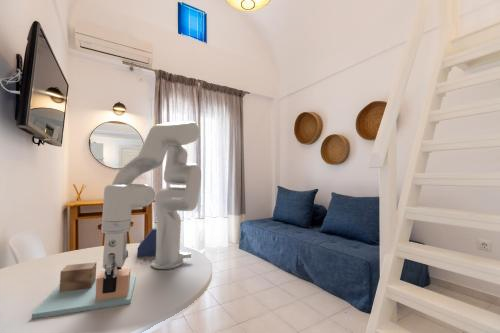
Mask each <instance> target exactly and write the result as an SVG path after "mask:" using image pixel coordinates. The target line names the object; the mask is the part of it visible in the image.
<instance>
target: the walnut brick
mask: <svg viewBox="0 0 500 333" xmlns="http://www.w3.org/2000/svg"><path fill="white" fill-rule="evenodd" d="M96 279H97V262H86V263H85V262H84V263H75V264H74V263H73V264H67V265H65V267H63V269H62V270H60V279H59V284H60V290H59V292H65V291H73V290H80V289H88V288H92V286H93V284H94V282H95V281H96Z"/></svg>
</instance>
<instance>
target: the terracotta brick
mask: <svg viewBox="0 0 500 333" xmlns="http://www.w3.org/2000/svg"><path fill="white" fill-rule="evenodd" d="M113 271H114V270H113ZM104 273H105V270H101V271H100V272H99V274H98V275H97V276H96V297H95V301H97V300H104V299H111V298H118V297H124V296H128V292H129V288H130V275H131V268H130V267H129V268H122V269H118V270H117V271H116V276H117V283H116V291H115V292H112V293H105V294H103V293H102V290H103V278H104Z"/></svg>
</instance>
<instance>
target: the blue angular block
mask: <svg viewBox="0 0 500 333" xmlns="http://www.w3.org/2000/svg"><path fill="white" fill-rule="evenodd" d="M156 233H157V227H153V228H152V229H151V230H150V231H149V233H148V234H147V235H146V236H145V237H144V238H143V239H142V240H141V241H140V243H139V245H138V247H137V254H136V256H137V257H136V258H145V257H156Z"/></svg>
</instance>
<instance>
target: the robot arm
mask: <svg viewBox="0 0 500 333" xmlns="http://www.w3.org/2000/svg"><path fill="white" fill-rule="evenodd" d="M200 133H201V129H200V127H199V124H198V123H196V122H195V121H170V122H166V123H160V124H159V123H158V124H155V125H153V126H152V127H150V129H149V131H148V134H147V136H146V138H145V140H144V143H143V145H142V147H141V149H140V152H139V154H138V155H136V156H135V157H134V158H133V159H131V160H130V161H128V162H127V163H126V164H125V165H124V166H123V167H122V168H121V169H120V170H119V171H118V172H117V173H116V175H115V177H114V179H113V181H112V183H111V184H107V185H106V186H105V187H104V192H103V203H102V214H101V215H102V217H101V229H100V230H101V231H100V232H101V234H102V233H103V234H105V235H104V245H103V256H102V269H104V271H105V273H104V278H103V290H102V293H103V294H105V293H112V292H115V291H116V283H117V276H116V271H117V270H118V269H123V266H124V265H125V262H126V260H127V257H126V249H127V241H128V240H127V239H128V237H127V232H130V231H131V219H132V208H145V207H148V206H149V205H151V204H152V203H153V202H154V201H155V208H156V228H157V233H156V256H154V257H155V258H154V259H153V260H152V261H151V262H150V267H152V268H153V269H157V270H168V269H169V270H170V269H174V268H178V267H180V266H182V265H183V264H184V259H191V258H192V253H191V252H189V253H188V252H186V251H185V252H182V251H181V231H182V230H181V229H182V228H181V227H182V219H181V217H180V215H179V211H181V212H192V211H194V210H195V209H196V208H197V206H198V203H199V197H200V189H201V182H202V170H201V167H200V166H199V165H198V164H197V163H194V162H193V163H192V162H188V151H187V149H186V147H185V146H186V145H189V144H191V143H194V142H196V141H198V139H199V137H200V136H201V135H200ZM166 154H167V157H166ZM165 157H166V162H165V167H164V172H163V180H164V182H165V183H166V184H168V185H173V186H175V187H171V186H170V187H162V188H160V189H159V190H157V191H156V192H155V190H154V188H153V187H152V186H150V185H148V184H145V183H144V184H143V183H140V184H139V183H133V182H134V181H135V180H136V179H137V178H138V177H139V176H141V175H143V174H145V173H148V172H150V171H153V170H155V169H157V168H158V167H160V166H162V164H163V163H164V160H165ZM176 186H177V187H176ZM178 186H185V187H178ZM113 270H114V271H113Z"/></svg>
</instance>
